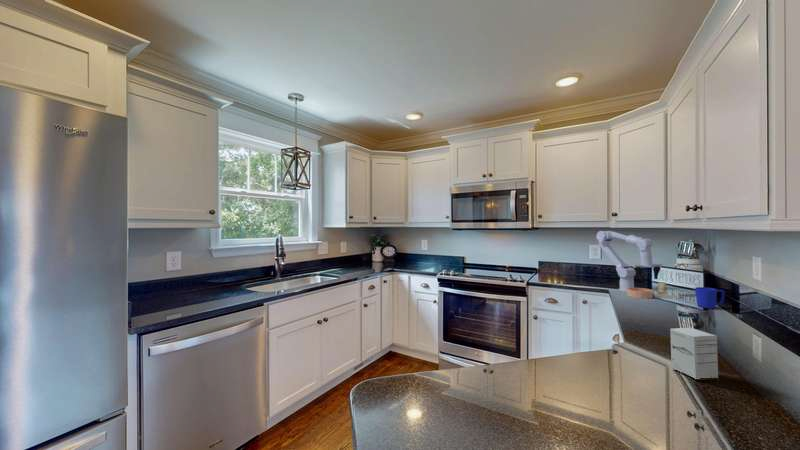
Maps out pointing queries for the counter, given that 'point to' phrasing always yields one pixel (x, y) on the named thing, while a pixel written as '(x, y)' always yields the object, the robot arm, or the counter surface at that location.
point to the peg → (662, 288)
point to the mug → (708, 297)
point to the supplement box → (694, 352)
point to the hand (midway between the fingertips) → (648, 279)
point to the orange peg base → (640, 292)
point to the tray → (669, 295)
